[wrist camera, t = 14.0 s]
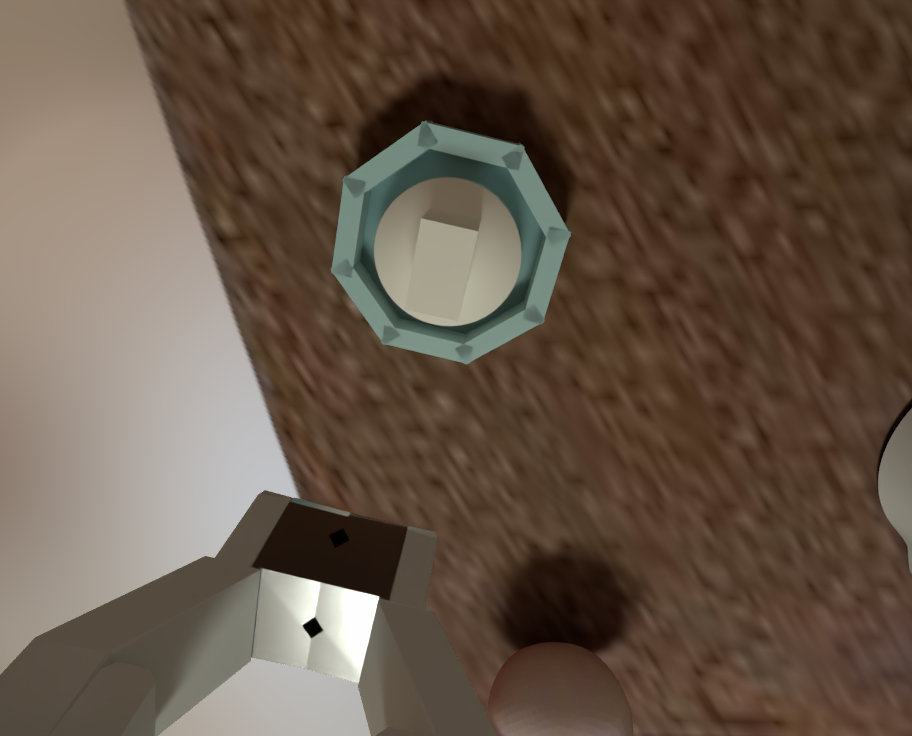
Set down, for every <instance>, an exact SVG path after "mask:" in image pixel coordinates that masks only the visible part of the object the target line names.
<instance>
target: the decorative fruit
mask: <svg viewBox="0 0 912 736" xmlns="http://www.w3.org/2000/svg"><path fill="white" fill-rule="evenodd" d="M487 716H488V718H489V720H490V722H491V724H492V726H493V728H494V730H495V732H496V734H497V736H633V721H632V715H631V710H630V707H629V703H628V700H627V698H626V695H625V693H624V691H623V689H622V687H621V685H620V683H619V681H618V680H617V678H616V677H615V675H614V674H613V673H612V671H611V670H610V669H609V668H608V666H607V665H606V664H605V663H604V662H603V661H602V660H601V659H600V658H599V657H598V656H597V655H595V654H594V653H592V652H591V651H589V650H587V649H585V648H583V647H580V646H577V645H574V644H569V643H561V642H544V643H539V644H534V645H531V646H528V647H525V648H523V649H521V650H519V651H517V652H516V653H515V654H513V655H512V656H511V657H510V658H509V659H508V660H507V661H506V662H505V664H504V665H503V666H502V668H501V670H500V671H499V673H498V675H497V677H496V679H495V681H494V683H493V686H492V688H491V691H490V696H489V701H488V708H487Z"/></svg>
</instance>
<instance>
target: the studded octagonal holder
mask: <svg viewBox="0 0 912 736" xmlns="http://www.w3.org/2000/svg"><path fill="white" fill-rule="evenodd" d="M524 148H525V147H524V145H521V143H518V144H517V143H513V142H509V141H505V140H501V139H497V138H493V137H489V136H485V135H481V134H477V133H473V132H469V131H465V130H461V129H457V128H453V127H449V126H445V125H441V124H436V123H434V122H433V121H425V122H423V121H422V122H421V124H420V125H419V126H418V127H416V128H415V129H413V130H412V131H411V132H409V133H408V134H406V135H405V136H403V137H402V138H401V139H399V140H398V141H396V142H395V143H394V144H392V145H391V146H389V147H388V148H387V149H385V150H384V151H382V152H381V153H379V154H378V155H377V156H375V157H374V158H372V159H371V160H370V161H368V162H367V163H365V164H364V165H362V166H361V167H360V168H358V169H357V170H355V171H354V172H353V173H351V174H349V175H346V176H344V179H343V190H342V197H341V205H340V212H339V220H338V227H337V235H336V242H335V250H334V257H333V265H332V268H331V271H332V272H331V273H333V274H334V275H335V276H336V278H337V279H338V281H339V282H340V283H341V285H342V286H343V288H344V289H345V290H346V292H347V293H348V295H349V296H350V297H351V299H352V300H353V302H354V303H355V304H356V306H357V307H358V309H359V310H360V312H361V313H362V314H363V316H364V317H365V319H366V320H367V321H368V323H369V324H370V326H371V327H372V328H373V330H374V331H375V333H376V334H377V335H378V337H379V338H380V340H381V341H382V342H381V343H383V344H384V345H386V344H387V345H391V346H396V347H400V348H404V349H408V350H412V351H416V352H420V353H425V354H429V355H433V356H437V357H441V358H445V359H450V360H454V361H458V362H462V363H464V364H469V362H471V361H473V360H474V359H476V358H478V357H480V356H482V355H484V354H485V353H487V352H489V351H491V350H493V349H495V348H496V347H498V346H500V345H502V344H504V343H506V342H507V341H509V340H511V339H513V338H515V337H517V336H518V335H520V334H522V333H524V332H526V331H528V330H529V329H531V328H533V327H535V326H537V325H539V324H542V323H543V322H544V321H545V320H544V317H545V314H546V310H547V307H548V304H549V301H550V297H551V294H552V291H553V288H554V284H555V281H556V278H557V275H558V271H559V268H560V265H561V262H562V259H563V255H564V252H565V249H566V246H567V242H568V239H569V237H570V236H571V235H570V233H571V231H570V230H569V228H568V226H567V225H566V223H565V222H563V220H562V218H561V216H560V214H559V213H558V211H557V209H556V207H555V205H554V203H553V202H552V200H551V198H550V196H549V194H548V192H547V191H546V189H545V187H544V185H543V183H542V181H541V180H540V178H539V176H538V174H537V172H536V170H535V169H534V167H533V165H532V163H531V161H530V159H529V158H528V156H527V154H526V152H525V150H524ZM439 176H459V177H465V178H468V179H472V180H475V181H477V182H479V183H481V184H483V185H485V186H486V187H488V188H490V189H491V190H492V191H494V192H495V193H496V194H497V195H498V196H499V197H500V198H501V199H502V200H503V201H504V202H505V204H506V205H507V206H508V208H509V209H510V211H511V213H512V215H513V217H514V219H515V221H516V224H517V227H518V231H519V235H520V242H521V265H520V270H519V274H518V277H517V280H516V283H515V285H514V287H513V289H512V291H511V292H510V294H509V295H508V297H507V298H506V299H505V301H504V302H503V303H502V304H501V305H500V306H499V307H498V308H497V309H496V310H494V311H493V312H492V313H490V314H489V315H487V316H486V317H484V318H482V319H480V320H478V321H475V322H472V323H469V324H465V325H459V326H440V325H434V324H430V323H427V322H424V321H421V320H419V319H417V318H415V317H413V316H411V315H410V314H408V313H407V312H405V311H404V310H403V309H401V308H400V307H399V306H398V305H397V304H396V303H395V302H394V301H393V300H392V298H391V297H390V296H389V295H388V293H387V292H386V290H385V288H384V287H383V285H382V283H381V281H380V278H379V276H378V272H377V269H376V264H375V259H374V244H375V237H376V232H377V229H378V226H379V223H380V221H381V219H382V217H383V215H384V213H385V211H386V210H387V209H388V207H389V206H390V204H391V203H392V202H393V201H394V200H395V199H396V198H397V197H398V196H400V195H401V194H402V193H403V192H405V191H406V190H407V189H409V188H411V187H412V186H414V185H416V184H417V183H419V182H422V181H424V180H426V179H430V178H434V177H439Z"/></svg>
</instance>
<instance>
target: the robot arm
mask: <svg viewBox="0 0 912 736" xmlns="http://www.w3.org/2000/svg"><path fill="white" fill-rule="evenodd" d="M878 491H879V498H880V501H881V505H882V508H883V510H884V513H885V514H886V516H887V518H888V520H889V521H890V523H891V524H892V525H893V527H894V528H895V529H896V530H897V531H898V533H899V534H900V535H901V536H902V538H903V539H904V541H905V542H906V544H907V547H908V562H909V568H910V572H911V574H912V409H911V410H910V411H909V412H908V413H907V414H906V416H905V417H904V418H903V419H902V421H901V422H900V424H899V425H898V426H897V428H896V430H895V431H894V433H893V435H892V436H891V438H890V440H889V442H888V444H887V446H886V449H885V451H884V454H883V457H882V460H881V464H880V468H879V476H878ZM406 531H407V532H406ZM405 535H406V536H405ZM404 539H405V540H404ZM437 539H438V536H437V532H432V531H428V530H423V529H419V528H415V527H410V526H409V527H408V529H407V526H403V525H399V524H395V523H391V522H386V521H382V520H378V519H374V518H370V517H365V516H361V515H357V514H353V513H349V512H345V511H342V510H338V509H334V508H331V507H327V506H323V505H320V504H316V503H312V502H308V501H305V500H301V499H297V498H291V497H287V496H284V495H280V494H276V493H273V492H269V491H263V492H262V493H260V494H259V495H258V496H257V497H256V499H255V500H254V502H253V503H252V504H251V506H250V508H249V509H248V510H247V512H246V513H245V515H244V516H243V518H242V519H241V521H240V522H239V524H238V525H237V526H236V528H235V529H234V531H233V532H232V534H231V535H230V537H229V538H228V540H227V541H226V542H225V544H224V545H223V547H222V548H221V550H220V551H219V553H218V554H217V556H216V557H215V558H211V557H207V556H205V557H202V558H200V559H198V560H196V561H194V562H192V563H190V564H188V565H186V566H184V567H182V568H179V569H177V570H175V571H173V572H171V573H169V574H167V575H165V576H163V577H161V578H159V579H157V580H155V581H152V582H150V583H148V584H146V585H144V586H142V587H140V588H138V589H135V590H133V591H131V592H129V593H127V594H125V595H123V596H121V597H119V598H117V599H115V600H112V601H110V602H109V603H106V604H104V605H102V606H100V607H98V608H96V609H94V610H92V611H89V612H87V613H86V614H83V615H81V616H79V617H77V618H75V619H73V620H71V621H69V622H67V623H64V624H62V625H60V626H58V627H56V628H54V629H52V630H50V631H48V632H46V633H43V634H42V635H39V636H37V637H35V638H34V639H33V640H32V641H31V643H30V644H29V645H28V646H27V647H26V648H25V649H24V650H23V651H22V652H21V654H19V656H18V657H17V658H16V659H15V660H14V661H13V662H12V663H11V664H10V665H9V666H8V667H7V669H5V670H4V672H3V673H2V674H1V675H0V736H158V735H159V734H160V733H162V732H163V731H164V730H165V729H167V728H168V727H169V726H170V725H171V724H173V723H174V722H175V721H177V720H178V719H179V718H180V717H181V716H183V715H184V714H185V713H186V712H188V711H189V710H190V709H191V708H193V707H194V706H195V705H196V704H198V703H199V702H200V701H201V700H203V699H204V698H205V697H206V696H207V695H209V694H210V693H211V692H213V691H214V690H215V689H216V688H218V687H219V686H220V685H221V684H222V683H224V682H225V681H226V680H227V679H229V678H230V677H231V676H232V675H234V674H235V673H236V672H237V671H239V670H240V669H241V668H242V667H243V666H245V665H246V664H247V663H248V662H250V661H251V657H252V658H257V659H262V660H266V661H271V662H276V663H281V664H285V665H290V666H295V667H300V668H304V669H308V670H312V671H315V672H320V673H323V674H326V675H330V676H334V677H337V678H341V679H345V680H348V681H352V682H356V683H359V684H358V688H359V692H360V696H361V699H362V703H363V707H364V711H365V714H366V718H367V722H368V726H369V730H370V734H371V736H497V734H496V732H495V730H494V728H493V726H492V724H491V722H490V720H489V718H488V716H487V715H486V713H485V711H484V709H483V707H482V705H481V703H480V701H479V699H478V697H477V695H476V693H475V691H474V689H473V687H472V685H471V683H470V681H469V679H468V677H467V675H466V673H465V671H464V669H463V668H462V666H461V664H460V662H459V660H458V658H457V656H456V654H455V652H454V650H453V648H452V646H451V644H450V642H449V640H448V638H447V636H446V634H445V632H444V630H443V628H442V626H441V624H440V622H439V621H438V619H437V617H436V615H435V613H434V612H432V611H428V610H425V608H426V602H427V596H428V590H429V585H430V579H431V573H432V568H433V562H434V556H435V550H436V545H437ZM403 543H404V544H403ZM402 547H403V548H402Z"/></svg>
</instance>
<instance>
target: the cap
mask: <svg viewBox="0 0 912 736" xmlns="http://www.w3.org/2000/svg"><path fill="white" fill-rule="evenodd" d="M374 259H375V264H376V269H377V272H378V276H379V278H380V281H381V283H382V285H383V287H384V288H385V290H386V292H387V293H388V295H389V296H390V297H391V298H392V300H393V301H394V302H395V303H396V304H397V305H398V306H399V307H400V308H401V309H403V310H404V311H405V312H407V313H408V314H410V315H411V316H413V317H415V318H417V319H419V320H421V321H424V322H427V323H430V324H434V325H440V326H459V325H465V324H469V323H472V322H475V321H478V320H480V319H482V318H484V317H486V316H487V315H489V314H490V313H492V312H493V311H494V310H496V309H497V308H498V307H499V306H500V305H501V304H502V303H503V302H504V301H505V299H506V298H507V297H508V295H509V294H510V292H511V291H512V289H513V287H514V285H515V283H516V280H517V277H518V274H519V270H520V265H521V242H520V235H519V231H518V227H517V224H516V221H515V219H514V217H513V215H512V213H511V211H510V209H509V208H508V206H507V205H506V204H505V202H504V201H503V200H502V199H501V198H500V197H499V196H498V195H497V194H496V193H495V192H494V191H492V190H491V189H490V188H488V187H486V186H485V185H483V184H481V183H479V182H477V181H475V180H472V179H468V178H465V177H459V176H439V177H434V178H430V179H426V180H424V181H422V182H419V183H417V184H416V185H414V186H412V187H411V188H409V189H407V190H406V191H405V192H403V193H402V194H401V195H400V196H398V197H397V198H396V199H395V200H394V201H393V202H392V203H391V204H390V206H389V207H388V209H387V210H386V211H385V213H384V215H383V217H382V219H381V221H380V223H379V226H378V229H377V232H376V237H375V244H374Z"/></svg>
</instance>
